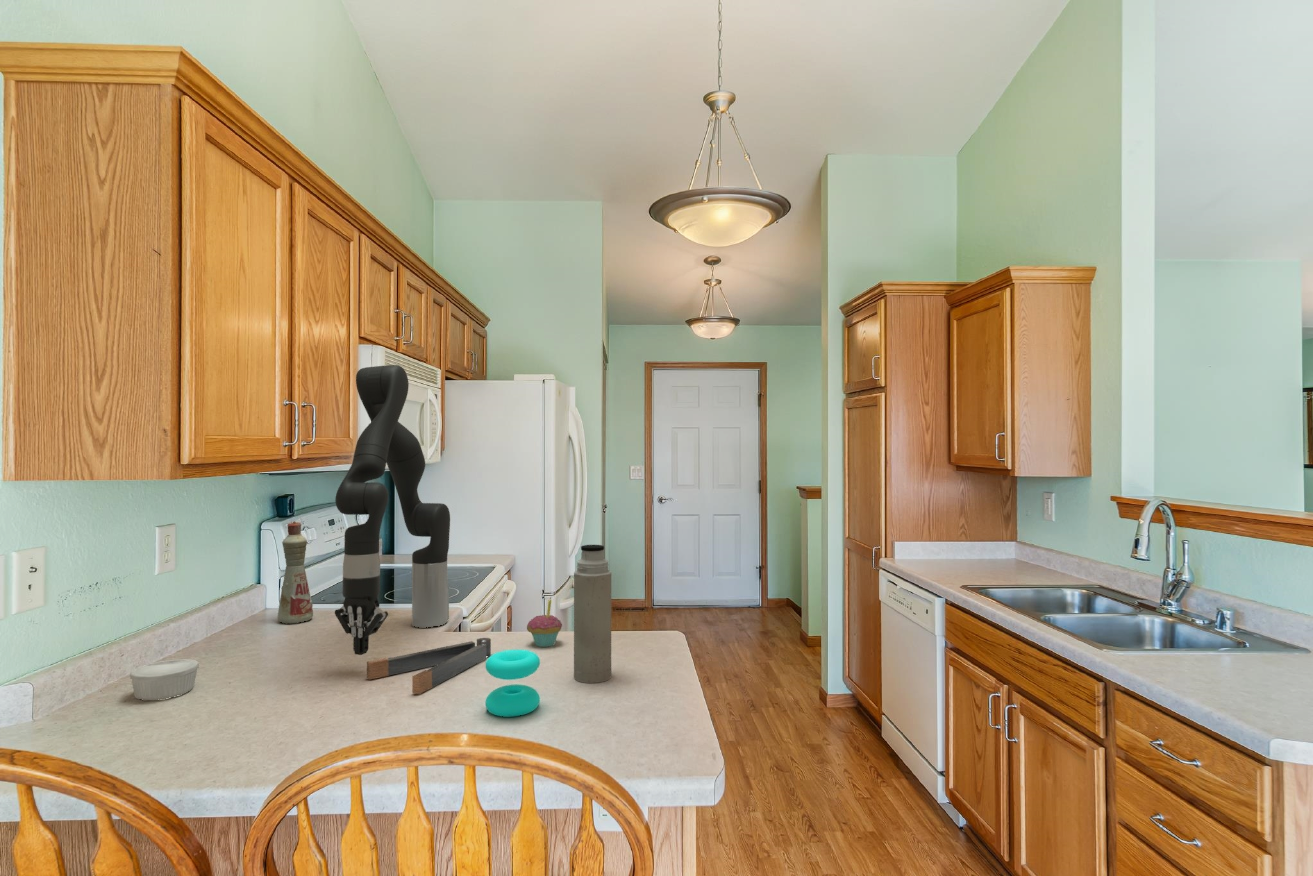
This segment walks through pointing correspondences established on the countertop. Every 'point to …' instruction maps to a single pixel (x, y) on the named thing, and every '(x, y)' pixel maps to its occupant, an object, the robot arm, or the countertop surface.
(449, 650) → the tongs arm
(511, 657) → the donuts
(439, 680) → the base
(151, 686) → the ramekin
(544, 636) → the cupcake
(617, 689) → the countertop surface
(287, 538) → the bottle
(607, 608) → the thermos bottle
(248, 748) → the countertop surface
